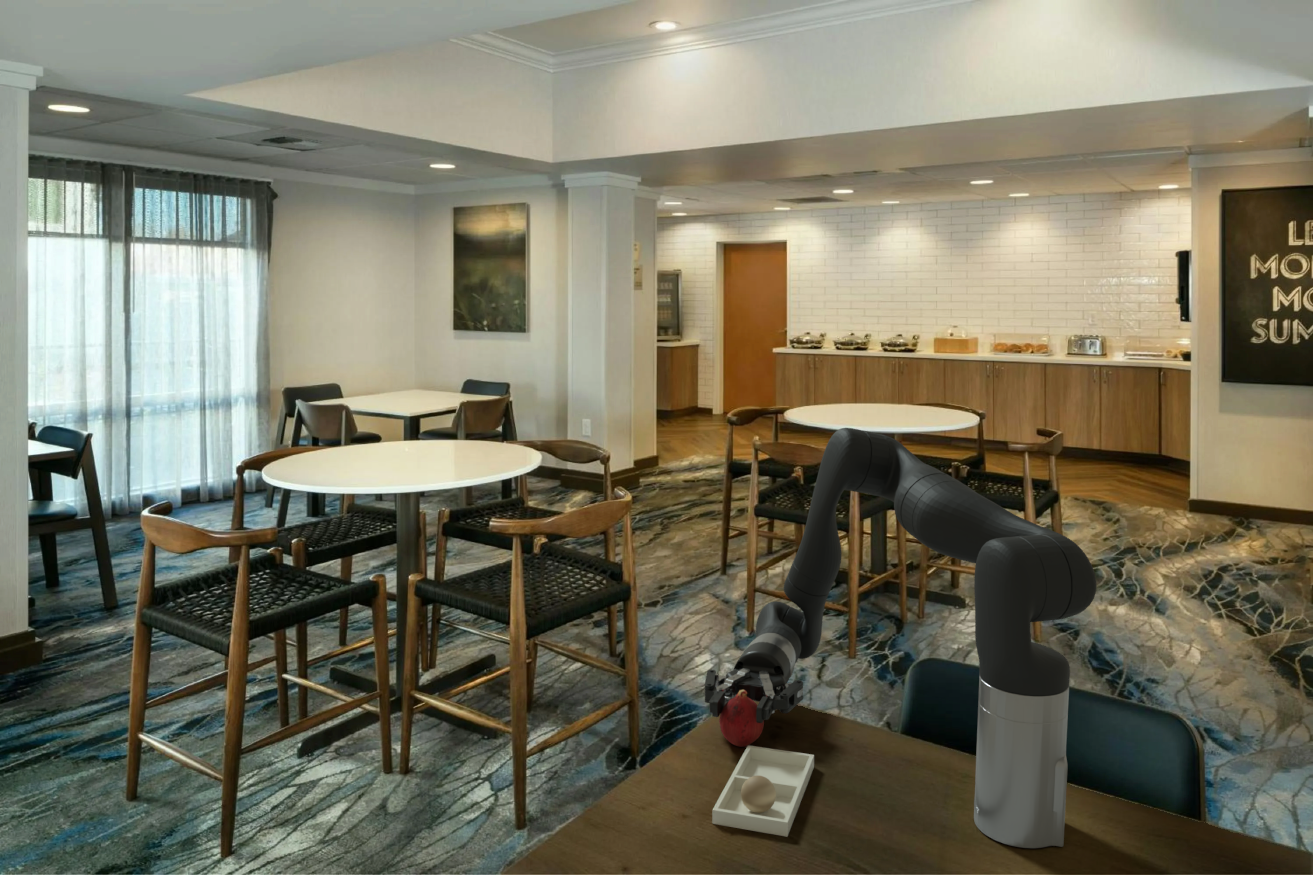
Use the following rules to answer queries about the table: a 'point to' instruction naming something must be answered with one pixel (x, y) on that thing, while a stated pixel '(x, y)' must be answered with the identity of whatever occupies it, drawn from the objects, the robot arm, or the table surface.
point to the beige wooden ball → (758, 794)
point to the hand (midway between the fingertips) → (737, 712)
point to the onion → (740, 720)
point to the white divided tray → (788, 780)
